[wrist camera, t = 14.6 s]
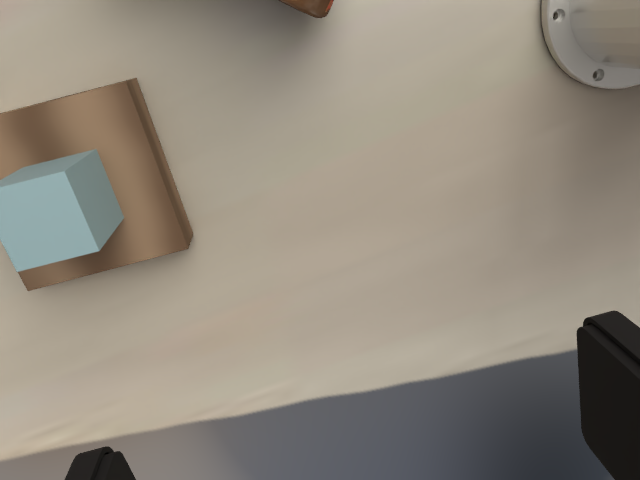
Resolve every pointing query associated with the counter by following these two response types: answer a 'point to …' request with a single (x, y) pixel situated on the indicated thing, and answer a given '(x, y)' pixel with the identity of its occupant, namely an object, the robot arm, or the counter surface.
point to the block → (57, 210)
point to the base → (120, 166)
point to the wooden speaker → (311, 6)
